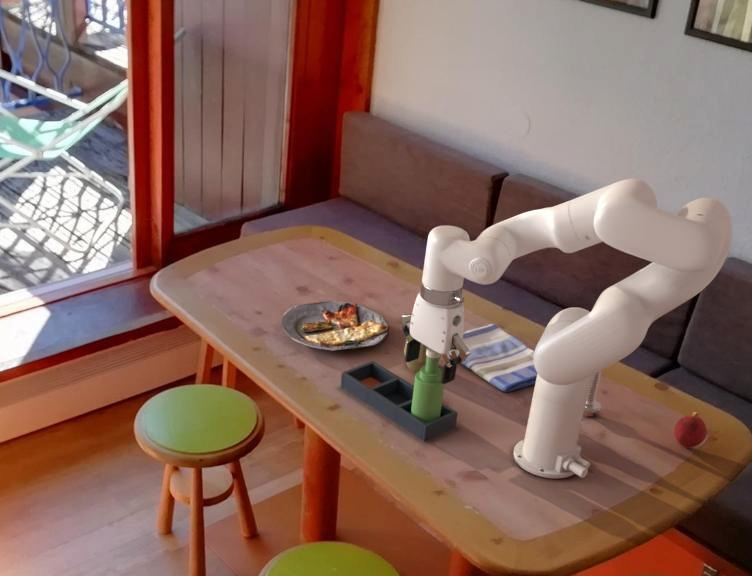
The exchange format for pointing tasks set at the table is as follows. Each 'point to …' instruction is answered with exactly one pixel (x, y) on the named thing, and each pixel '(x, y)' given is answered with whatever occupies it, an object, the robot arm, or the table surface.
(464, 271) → the robot arm
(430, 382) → the bottle
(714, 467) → the table surface
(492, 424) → the table surface
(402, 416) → the tray
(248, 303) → the table surface
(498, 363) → the dish towel
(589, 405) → the screw
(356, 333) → the food plate
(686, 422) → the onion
